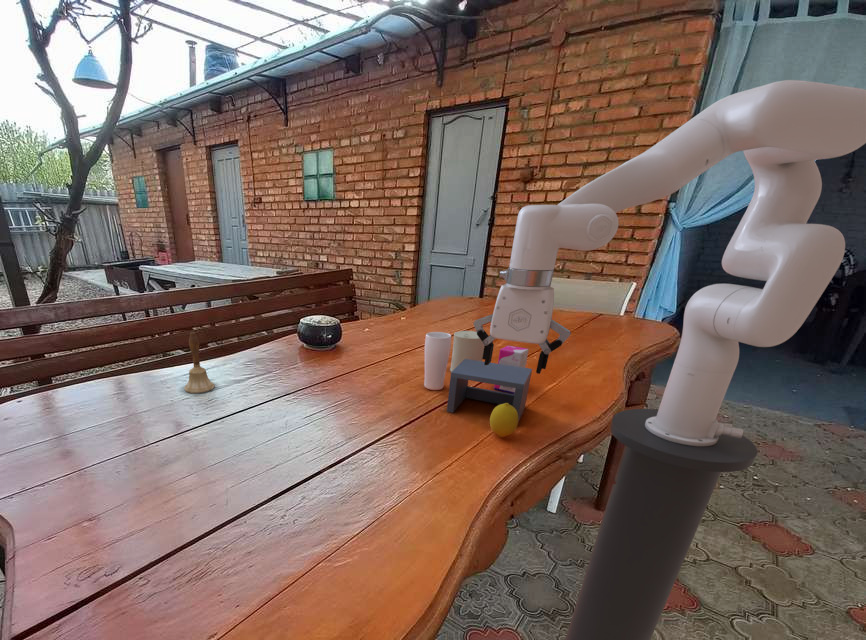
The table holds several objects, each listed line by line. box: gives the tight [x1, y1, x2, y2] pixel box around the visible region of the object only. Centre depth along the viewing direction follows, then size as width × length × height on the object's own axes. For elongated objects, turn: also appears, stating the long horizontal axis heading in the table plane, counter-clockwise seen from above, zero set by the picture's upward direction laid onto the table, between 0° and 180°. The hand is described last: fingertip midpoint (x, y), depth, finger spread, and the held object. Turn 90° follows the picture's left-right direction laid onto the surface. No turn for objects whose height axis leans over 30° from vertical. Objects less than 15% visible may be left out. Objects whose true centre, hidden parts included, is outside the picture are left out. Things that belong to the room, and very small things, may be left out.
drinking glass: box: [423, 331, 452, 391], centre depth 115 cm, size 7×7×15 cm
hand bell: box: [183, 331, 216, 394], centre depth 117 cm, size 8×8×16 cm
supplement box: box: [493, 345, 529, 394], centre depth 114 cm, size 6×6×12 cm
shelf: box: [446, 359, 533, 423], centre depth 102 cm, size 16×12×10 cm
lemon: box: [489, 403, 519, 438], centre depth 90 cm, size 6×6×8 cm
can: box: [449, 330, 484, 373], centre depth 128 cm, size 9×9×12 cm
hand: (512, 367), depth 85 cm, fingers open, 9 cm apart
